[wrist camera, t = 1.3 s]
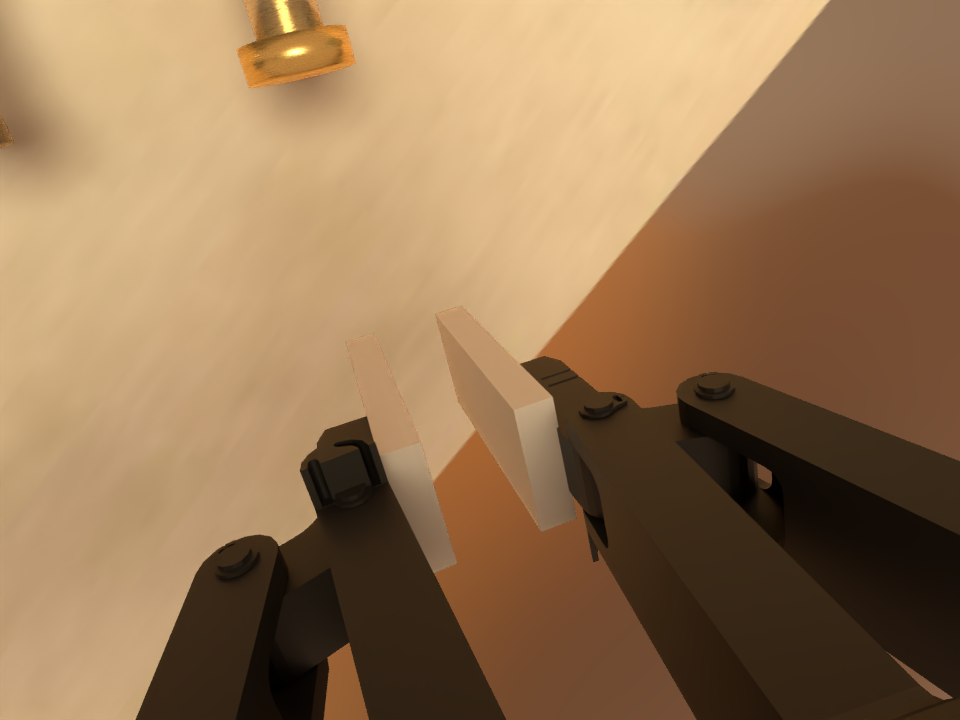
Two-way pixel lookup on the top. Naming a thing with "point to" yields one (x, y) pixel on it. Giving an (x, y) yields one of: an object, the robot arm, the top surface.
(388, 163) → the top surface
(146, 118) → the top surface
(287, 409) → the top surface
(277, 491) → the top surface
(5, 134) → the plunger grey
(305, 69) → the plunger ochre
